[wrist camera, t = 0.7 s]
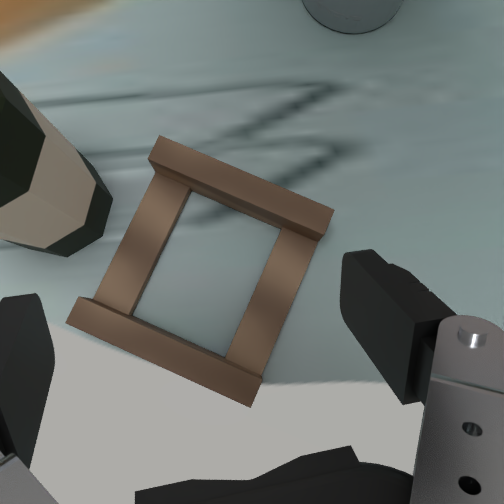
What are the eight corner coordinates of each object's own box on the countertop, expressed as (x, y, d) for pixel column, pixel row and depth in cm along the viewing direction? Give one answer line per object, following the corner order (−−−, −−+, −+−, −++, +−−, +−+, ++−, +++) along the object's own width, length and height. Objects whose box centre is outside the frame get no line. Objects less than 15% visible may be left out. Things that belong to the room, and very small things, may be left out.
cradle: (168, 154, 38) (159, 135, 34) (325, 222, 37) (334, 209, 33) (85, 323, 36) (65, 322, 32) (250, 398, 35) (250, 407, 31)
